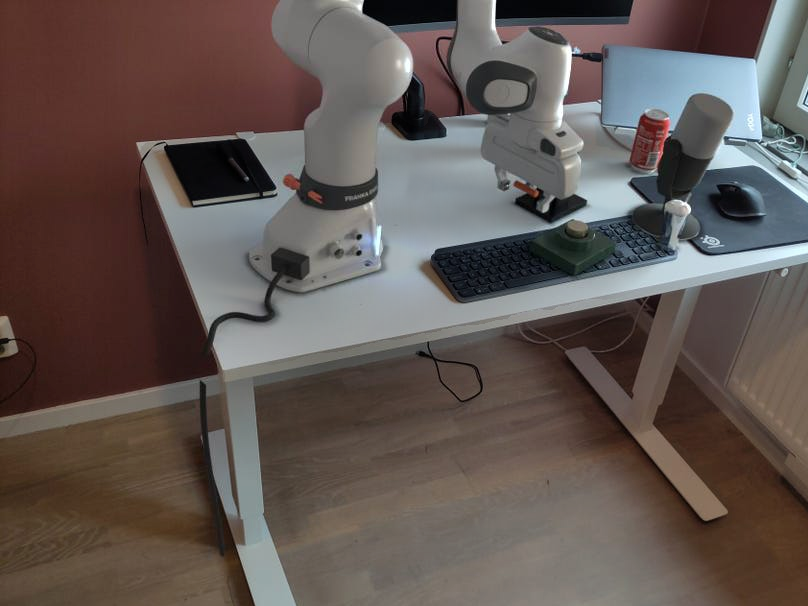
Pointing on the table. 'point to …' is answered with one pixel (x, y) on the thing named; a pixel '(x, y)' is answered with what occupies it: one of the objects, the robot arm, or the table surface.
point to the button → (576, 229)
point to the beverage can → (649, 140)
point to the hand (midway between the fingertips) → (522, 199)
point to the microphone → (686, 159)
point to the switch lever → (526, 188)
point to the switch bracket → (551, 205)
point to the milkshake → (673, 223)
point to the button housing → (572, 249)
